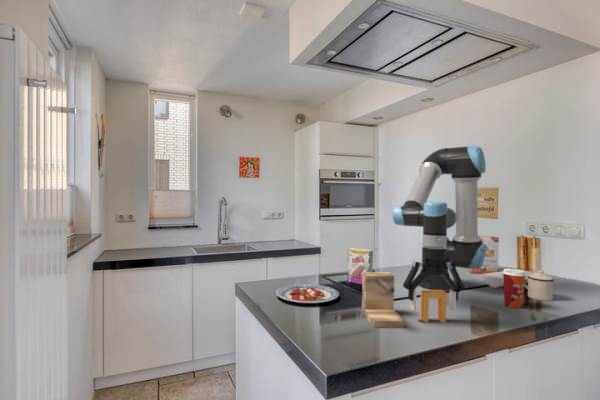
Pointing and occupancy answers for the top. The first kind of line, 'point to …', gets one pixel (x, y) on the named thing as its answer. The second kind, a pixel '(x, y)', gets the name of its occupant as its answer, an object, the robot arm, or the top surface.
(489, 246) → the cracker box
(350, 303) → the top surface
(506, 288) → the paper cup
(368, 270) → the candy bar box
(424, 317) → the orange u-shaped bracket
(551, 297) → the teacup with lid
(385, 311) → the wooden l-shaped stand
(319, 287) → the ceramic plate
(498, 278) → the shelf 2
